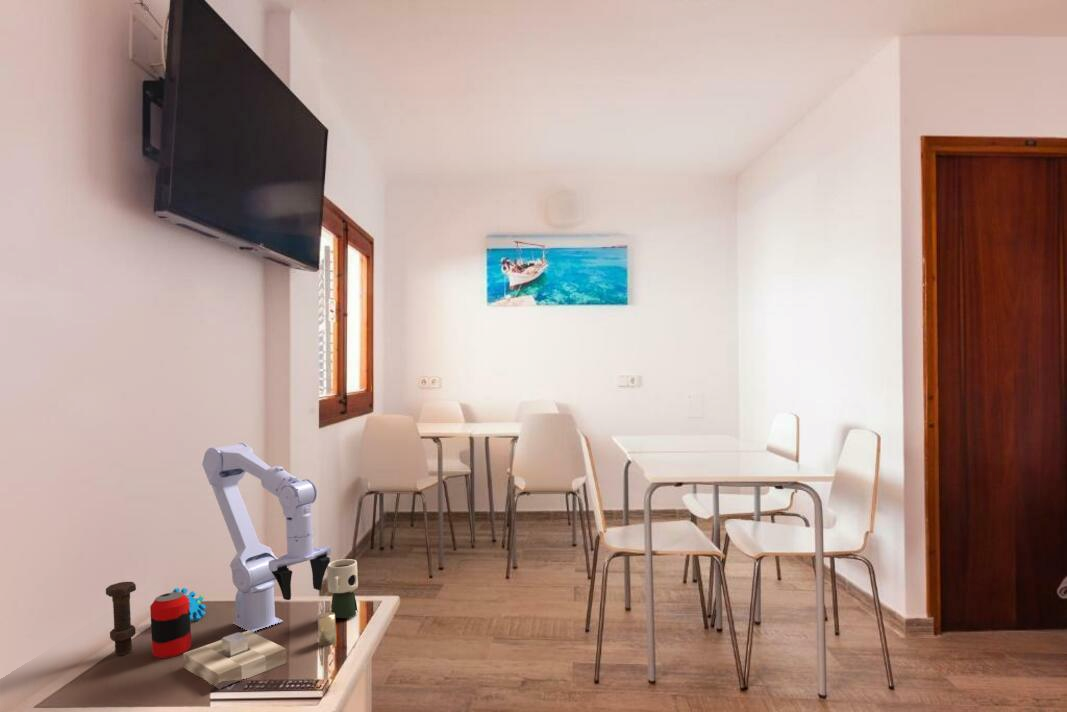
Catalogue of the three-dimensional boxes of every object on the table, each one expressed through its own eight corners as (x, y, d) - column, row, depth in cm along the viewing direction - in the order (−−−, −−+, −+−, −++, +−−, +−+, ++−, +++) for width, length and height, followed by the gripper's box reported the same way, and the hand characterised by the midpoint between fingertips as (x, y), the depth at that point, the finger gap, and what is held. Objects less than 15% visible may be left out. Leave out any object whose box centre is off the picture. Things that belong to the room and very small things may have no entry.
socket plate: (183, 667, 141) (183, 653, 141) (249, 643, 152) (248, 630, 152) (219, 689, 131) (218, 674, 131) (286, 662, 142) (285, 648, 142)
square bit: (223, 666, 141) (221, 637, 141) (240, 660, 144) (238, 631, 144) (231, 671, 139) (230, 642, 139) (248, 664, 142) (247, 635, 142)
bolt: (123, 659, 147) (120, 590, 147) (103, 658, 148) (100, 589, 148) (143, 648, 152) (140, 581, 152) (124, 647, 153) (121, 580, 153)
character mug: (351, 624, 160) (349, 569, 160) (322, 625, 161) (319, 570, 161) (365, 607, 171) (363, 556, 171) (337, 608, 172) (335, 556, 172)
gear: (187, 622, 162) (163, 590, 165) (170, 639, 163) (147, 607, 165) (217, 611, 173) (195, 581, 176) (202, 627, 173) (180, 597, 176)
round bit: (316, 643, 151) (314, 616, 151) (330, 637, 154) (329, 610, 154) (325, 647, 149) (323, 619, 149) (339, 641, 151) (338, 614, 151)
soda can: (180, 641, 155) (178, 588, 155) (198, 648, 151) (195, 594, 151) (145, 653, 149) (143, 599, 149) (163, 661, 145) (160, 605, 145)
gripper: (279, 544, 147) (281, 607, 147) (337, 529, 158) (339, 588, 158) (262, 540, 152) (265, 600, 152) (320, 525, 163) (323, 582, 163)
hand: (302, 593), depth 156 cm, fingers open, 7 cm apart
